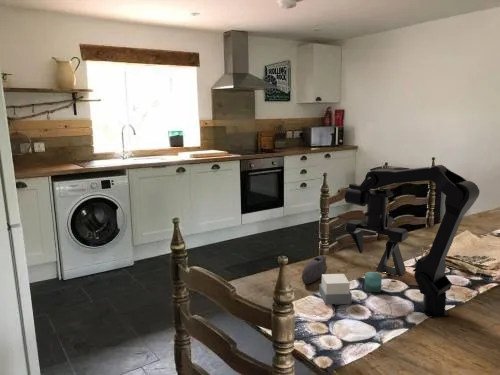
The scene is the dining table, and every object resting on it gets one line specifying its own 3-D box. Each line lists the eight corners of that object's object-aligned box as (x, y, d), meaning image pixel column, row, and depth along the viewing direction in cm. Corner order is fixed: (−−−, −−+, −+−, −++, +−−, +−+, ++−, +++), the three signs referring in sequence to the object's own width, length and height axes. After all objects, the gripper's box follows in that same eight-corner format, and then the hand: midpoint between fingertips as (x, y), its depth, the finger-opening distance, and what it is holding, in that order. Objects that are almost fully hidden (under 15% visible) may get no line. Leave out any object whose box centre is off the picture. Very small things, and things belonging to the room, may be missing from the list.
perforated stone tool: (309, 289, 132) (309, 269, 130) (295, 285, 135) (295, 265, 134) (330, 274, 143) (330, 256, 142) (317, 271, 146) (317, 253, 145)
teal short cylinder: (383, 292, 128) (384, 278, 127) (367, 293, 128) (368, 278, 127) (377, 285, 133) (378, 271, 132) (362, 286, 133) (362, 272, 132)
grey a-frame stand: (375, 271, 145) (377, 239, 143) (381, 265, 150) (382, 235, 148) (401, 276, 140) (403, 244, 138) (406, 271, 145) (407, 239, 142)
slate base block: (351, 304, 121) (351, 294, 120) (325, 305, 121) (325, 295, 120) (343, 293, 129) (344, 282, 128) (319, 294, 129) (319, 283, 128)
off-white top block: (349, 293, 121) (349, 282, 120) (326, 294, 120) (326, 283, 120) (343, 283, 127) (343, 273, 127) (321, 284, 127) (321, 274, 127)
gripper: (415, 208, 125) (412, 255, 128) (360, 200, 137) (359, 243, 140) (402, 215, 117) (399, 265, 120) (344, 206, 129) (343, 252, 132)
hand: (374, 256), depth 128 cm, fingers open, 9 cm apart
